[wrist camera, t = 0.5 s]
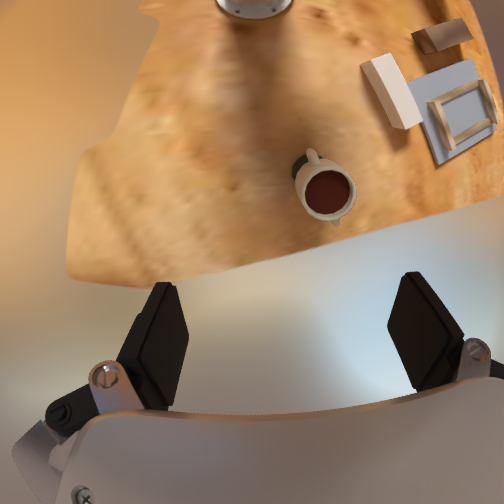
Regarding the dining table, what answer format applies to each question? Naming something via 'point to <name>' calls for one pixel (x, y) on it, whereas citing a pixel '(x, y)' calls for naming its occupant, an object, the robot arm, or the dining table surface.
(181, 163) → the dining table surface
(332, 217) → the character mug
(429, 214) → the dining table surface
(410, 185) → the dining table surface
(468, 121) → the jig board
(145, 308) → the robot arm
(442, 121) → the cradle
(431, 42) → the brown rectangular block
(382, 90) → the plank
